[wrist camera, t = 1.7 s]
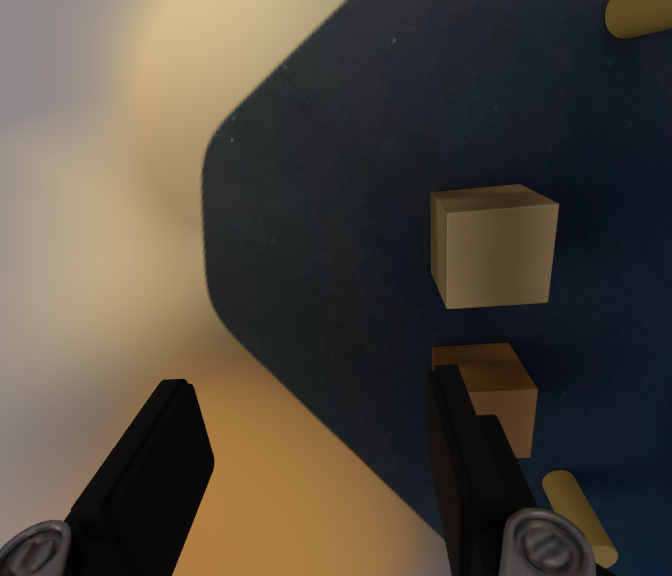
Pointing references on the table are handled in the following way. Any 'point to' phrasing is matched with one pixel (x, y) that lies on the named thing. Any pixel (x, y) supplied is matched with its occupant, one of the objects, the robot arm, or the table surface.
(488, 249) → the maple block
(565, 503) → the far post
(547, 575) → the robot arm
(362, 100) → the table surface
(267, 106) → the table surface
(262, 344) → the table surface
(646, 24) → the near post
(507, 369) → the oak block
